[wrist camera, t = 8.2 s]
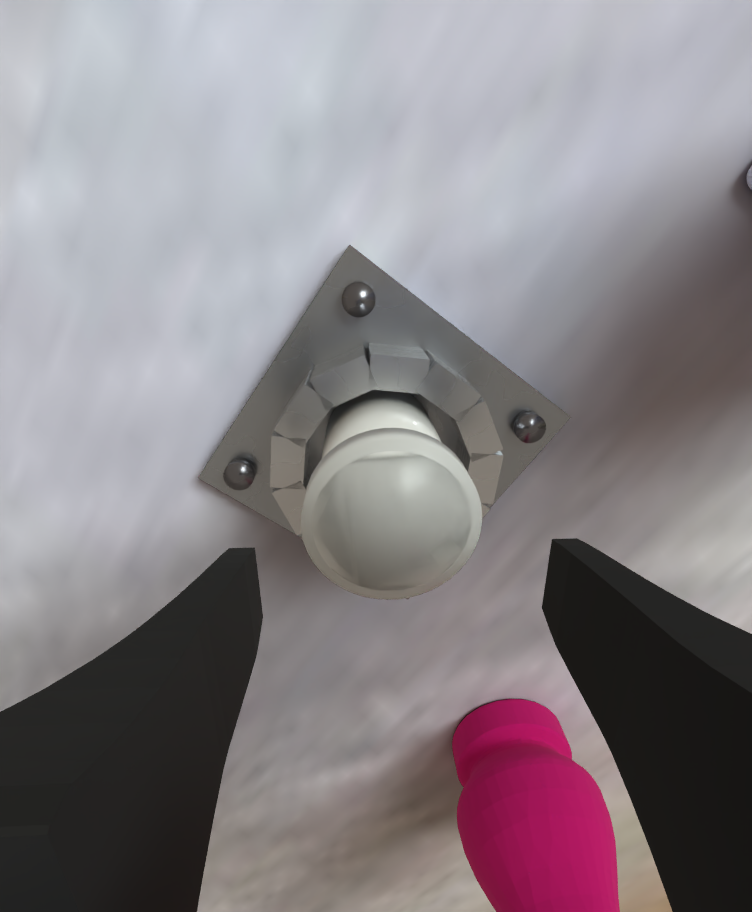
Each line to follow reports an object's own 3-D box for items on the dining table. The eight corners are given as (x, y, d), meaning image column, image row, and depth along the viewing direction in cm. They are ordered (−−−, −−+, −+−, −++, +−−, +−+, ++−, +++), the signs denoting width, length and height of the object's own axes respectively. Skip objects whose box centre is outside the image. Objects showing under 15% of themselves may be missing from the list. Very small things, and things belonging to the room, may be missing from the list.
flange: (563, 411, 21) (598, 436, 18) (406, 589, 24) (413, 635, 21) (349, 245, 18) (349, 242, 15) (203, 470, 21) (178, 504, 18)
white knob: (453, 389, 19) (502, 455, 13) (426, 501, 21) (458, 608, 15) (327, 368, 19) (312, 426, 12) (311, 485, 21) (291, 588, 14)
